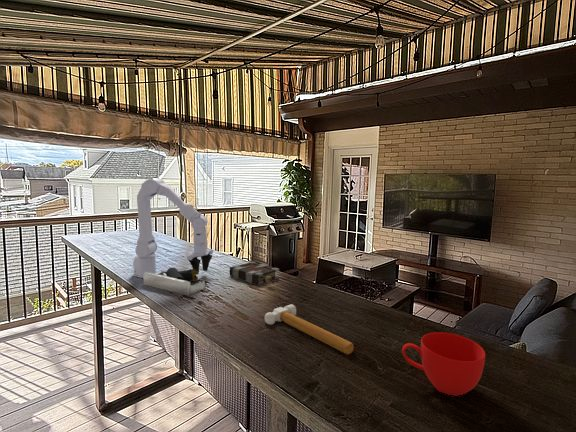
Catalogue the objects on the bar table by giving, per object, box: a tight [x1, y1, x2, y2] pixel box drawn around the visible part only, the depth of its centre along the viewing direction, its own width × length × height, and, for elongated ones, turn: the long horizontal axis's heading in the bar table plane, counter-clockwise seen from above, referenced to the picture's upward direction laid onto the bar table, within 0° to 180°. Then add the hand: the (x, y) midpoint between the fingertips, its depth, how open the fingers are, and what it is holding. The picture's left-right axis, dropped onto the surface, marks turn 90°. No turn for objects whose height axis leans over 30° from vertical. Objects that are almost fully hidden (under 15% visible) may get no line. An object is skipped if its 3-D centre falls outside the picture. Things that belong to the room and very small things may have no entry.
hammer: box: [264, 303, 355, 355], centre depth 101 cm, size 12×4×30 cm
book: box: [229, 261, 280, 286], centre depth 151 cm, size 15×25×5 cm, turn 49°
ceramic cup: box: [401, 331, 486, 397], centre depth 76 cm, size 13×17×10 cm
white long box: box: [143, 270, 206, 297], centre depth 139 cm, size 25×10×5 cm, turn 61°
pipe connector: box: [165, 267, 199, 283], centre depth 144 cm, size 12×5×15 cm
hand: (200, 272), depth 152 cm, fingers open, 5 cm apart
